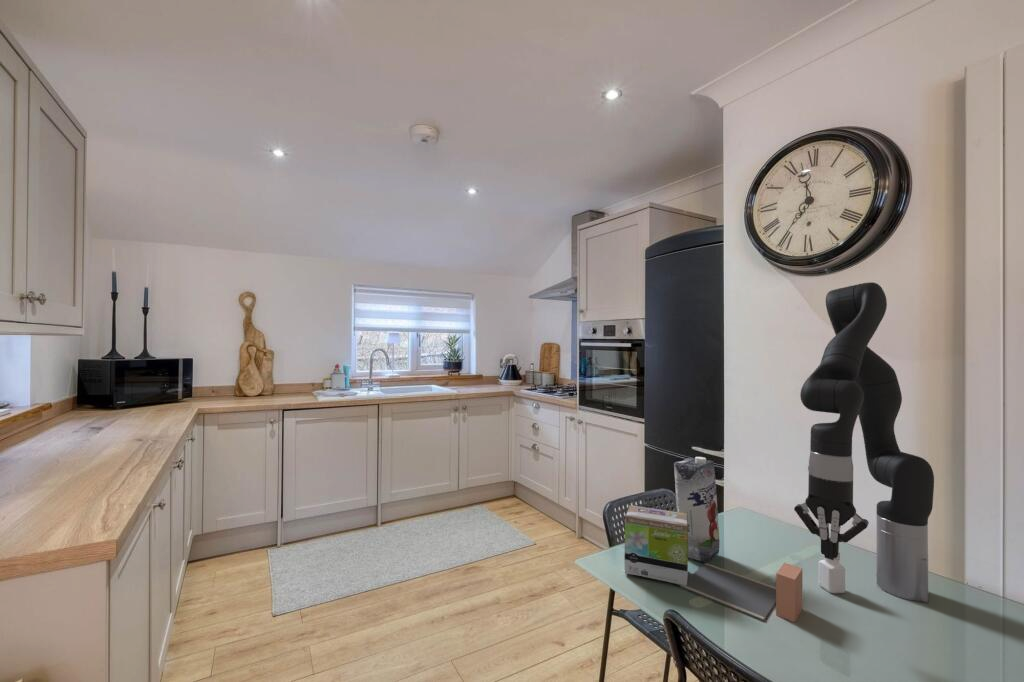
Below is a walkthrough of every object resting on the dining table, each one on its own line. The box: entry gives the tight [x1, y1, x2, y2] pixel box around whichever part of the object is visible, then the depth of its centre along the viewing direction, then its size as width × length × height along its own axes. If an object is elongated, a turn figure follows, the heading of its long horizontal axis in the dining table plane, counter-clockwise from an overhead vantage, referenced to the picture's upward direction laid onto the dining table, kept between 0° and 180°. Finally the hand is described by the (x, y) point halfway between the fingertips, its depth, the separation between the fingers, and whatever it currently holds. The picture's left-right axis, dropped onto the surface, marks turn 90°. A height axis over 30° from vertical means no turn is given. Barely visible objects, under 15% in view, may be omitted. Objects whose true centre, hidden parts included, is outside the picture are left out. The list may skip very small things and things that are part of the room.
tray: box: [679, 562, 776, 622], centre depth 103 cm, size 18×16×1 cm
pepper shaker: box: [818, 550, 846, 594], centre depth 103 cm, size 4×4×10 cm
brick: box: [775, 562, 803, 623], centre depth 94 cm, size 4×7×9 cm, turn 135°
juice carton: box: [673, 456, 721, 563], centre depth 121 cm, size 9×10×27 cm
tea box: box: [623, 504, 689, 586], centre depth 110 cm, size 15×10×15 cm
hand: (829, 557), depth 89 cm, fingers closed
